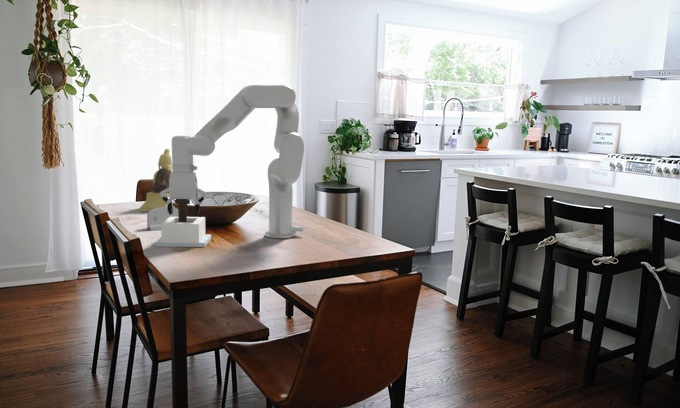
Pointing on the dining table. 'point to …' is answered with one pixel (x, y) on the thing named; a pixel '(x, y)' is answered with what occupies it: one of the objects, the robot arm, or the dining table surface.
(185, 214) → the bolt
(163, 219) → the grey arched bracket
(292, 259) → the dining table surface
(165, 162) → the yellow and brown statue
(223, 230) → the dining table surface
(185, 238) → the socket post
